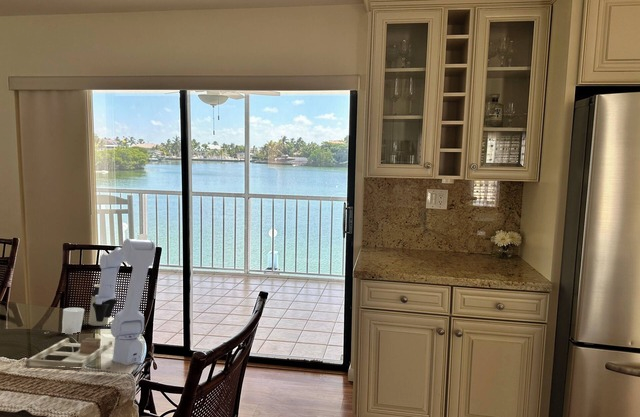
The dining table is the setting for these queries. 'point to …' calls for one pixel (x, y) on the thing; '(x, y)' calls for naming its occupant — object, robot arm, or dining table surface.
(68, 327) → the white cup
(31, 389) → the dining table surface
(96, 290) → the travel mug
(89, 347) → the block
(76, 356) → the white compartment tray
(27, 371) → the dining table surface
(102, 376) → the dining table surface
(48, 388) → the dining table surface
